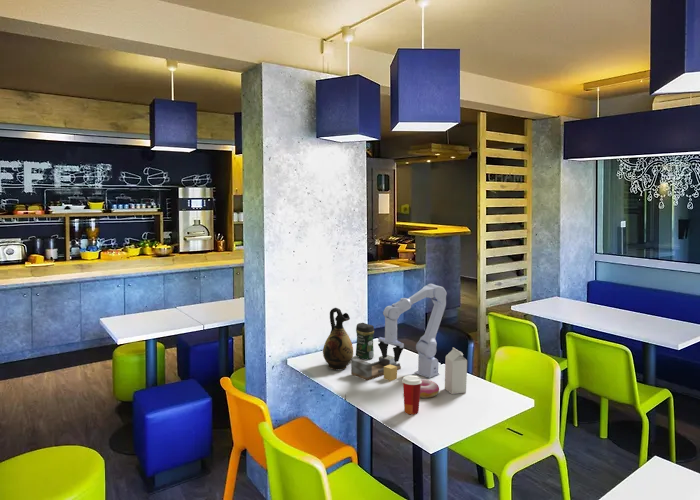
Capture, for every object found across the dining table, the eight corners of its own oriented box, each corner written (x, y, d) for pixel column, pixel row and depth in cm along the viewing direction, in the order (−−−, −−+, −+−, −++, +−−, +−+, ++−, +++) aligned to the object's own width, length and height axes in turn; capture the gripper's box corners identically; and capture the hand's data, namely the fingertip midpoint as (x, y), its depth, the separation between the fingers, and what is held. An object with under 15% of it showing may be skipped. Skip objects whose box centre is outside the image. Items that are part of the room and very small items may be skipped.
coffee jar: (353, 356, 277) (353, 323, 276) (363, 353, 283) (364, 320, 281) (365, 361, 270) (365, 326, 268) (376, 358, 276) (376, 324, 274)
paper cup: (419, 407, 211) (420, 374, 210) (422, 415, 204) (423, 381, 202) (400, 407, 211) (400, 374, 209) (402, 415, 203) (403, 381, 202)
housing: (397, 378, 245) (397, 366, 244) (390, 381, 241) (390, 368, 241) (389, 376, 248) (390, 364, 247) (383, 378, 245) (383, 366, 244)
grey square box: (396, 365, 259) (396, 357, 258) (389, 367, 255) (389, 360, 254) (386, 361, 264) (386, 354, 263) (378, 364, 260) (378, 356, 260)
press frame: (400, 369, 258) (401, 354, 257) (367, 380, 242) (367, 365, 241) (384, 363, 266) (384, 349, 265) (351, 374, 250) (351, 359, 249)
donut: (402, 390, 231) (402, 379, 230) (428, 386, 235) (428, 375, 235) (416, 401, 218) (416, 390, 218) (444, 397, 223) (444, 386, 222)
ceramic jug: (359, 366, 261) (360, 309, 258) (338, 374, 250) (338, 314, 247) (336, 359, 273) (336, 304, 270) (314, 366, 262) (314, 308, 258)
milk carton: (451, 394, 226) (452, 352, 224) (444, 388, 232) (445, 347, 230) (466, 392, 227) (467, 351, 225) (458, 387, 234) (459, 346, 232)
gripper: (374, 330, 245) (373, 357, 246) (397, 336, 234) (396, 365, 236) (384, 327, 250) (383, 354, 251) (407, 333, 239) (406, 361, 241)
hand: (390, 359), depth 244 cm, fingers open, 7 cm apart
